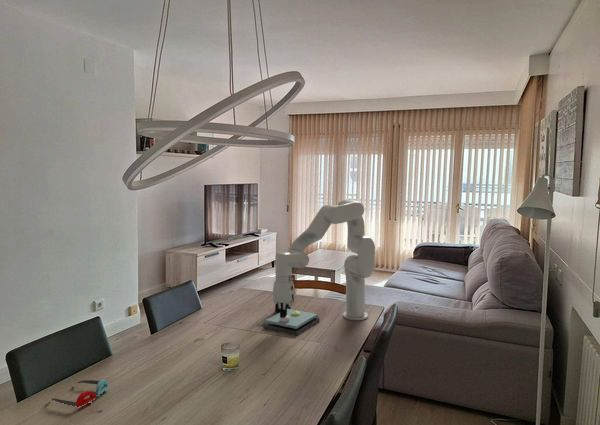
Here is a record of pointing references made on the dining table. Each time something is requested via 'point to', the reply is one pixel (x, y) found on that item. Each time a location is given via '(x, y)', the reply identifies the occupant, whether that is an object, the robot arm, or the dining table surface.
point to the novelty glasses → (87, 393)
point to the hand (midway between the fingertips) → (283, 316)
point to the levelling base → (291, 330)
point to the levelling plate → (292, 318)
